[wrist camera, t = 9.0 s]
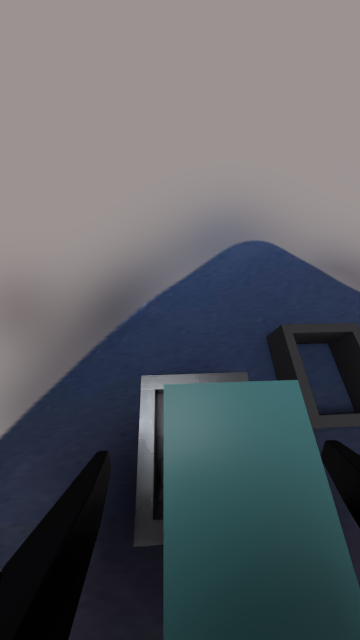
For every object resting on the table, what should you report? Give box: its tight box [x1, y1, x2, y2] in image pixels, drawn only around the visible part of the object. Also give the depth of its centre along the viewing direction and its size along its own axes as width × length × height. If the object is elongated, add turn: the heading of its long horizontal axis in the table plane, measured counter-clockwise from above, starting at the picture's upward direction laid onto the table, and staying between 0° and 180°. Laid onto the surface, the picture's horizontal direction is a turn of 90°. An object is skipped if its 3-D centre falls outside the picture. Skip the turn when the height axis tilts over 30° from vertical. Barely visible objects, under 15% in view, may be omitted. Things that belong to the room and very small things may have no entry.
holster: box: [267, 323, 360, 429], centre depth 17 cm, size 8×7×3 cm
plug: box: [164, 380, 360, 640], centre depth 10 cm, size 5×4×12 cm
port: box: [134, 372, 249, 547], centre depth 14 cm, size 9×8×4 cm
